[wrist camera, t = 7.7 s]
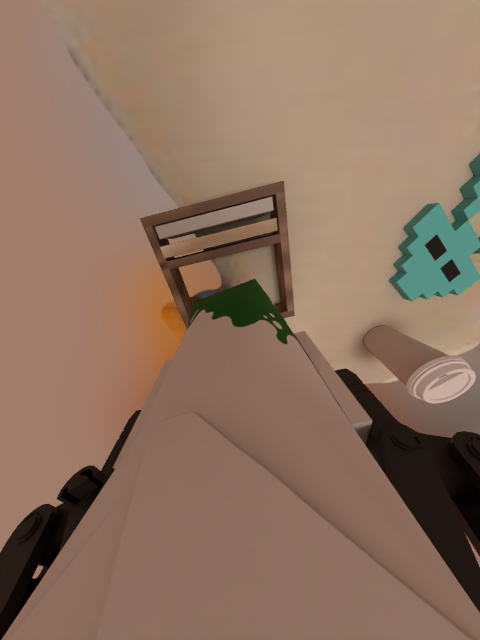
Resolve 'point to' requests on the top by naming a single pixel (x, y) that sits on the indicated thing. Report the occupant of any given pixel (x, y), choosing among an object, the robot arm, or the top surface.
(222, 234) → the birch offcut
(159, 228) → the grey offcut
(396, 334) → the coffee cup
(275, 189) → the offcut rack
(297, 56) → the top surface
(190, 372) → the soya milk
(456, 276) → the alien figure
